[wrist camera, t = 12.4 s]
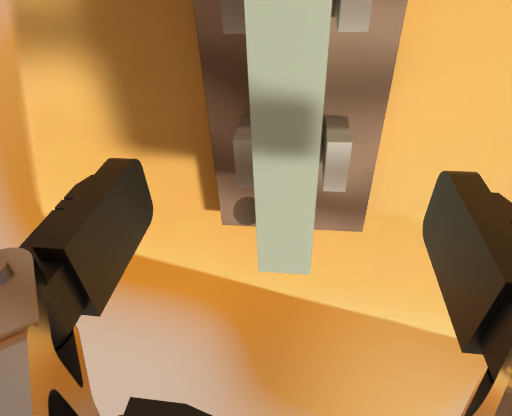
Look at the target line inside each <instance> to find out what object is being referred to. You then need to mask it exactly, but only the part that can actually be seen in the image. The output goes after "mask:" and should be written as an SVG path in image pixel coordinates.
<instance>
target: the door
mask: <svg viewBox="0 0 512 416" xmlns="http://www.w3.org/2000/svg"><path fill="white" fill-rule="evenodd" d="M244 8H245V26H246V45H247V64H248V82H249V101H250V120H251V138H252V157H253V176H254V194H255V199H254V198H252V197H243V198H241V199H239V200H238V201H237V202H236V203H235V205H234V207H233V215H234V218H235V219H236V221H237V222H238V223H240V224H242V225H245V226H250V225H253V224H255V223H256V232H257V250H258V269H259V272H275V273H290V274H305V275H310V269H311V257H312V245H313V232H314V220H315V207H316V195H317V183H318V170H319V158H320V145H321V133H322V121H323V108H324V96H325V84H326V71H327V59H328V46H329V34H330V22H331V9H332V0H244Z"/></svg>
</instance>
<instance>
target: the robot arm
mask: <svg viewBox="0 0 512 416" xmlns="http://www.w3.org/2000/svg"><path fill="white" fill-rule="evenodd" d="M152 216H153V204H152V200H151V196H150V193H149V189H148V185H147V182H146V178H145V175H144V171H143V168H142V165H141V163H140V161H139V160H137V159H123V158H109V159H108V160H107V161H106V162H105V163H104V164H103V165H102V166H101V167H100V169H99V170H98V171H97V172H96V173H95V174H94V175H91V176H89V177H87V178H86V179H84V180H83V181H81V182H79V183H78V184H76V185H75V186H74V187H73V188H72V189H71V190H70V192H69V193H68V194H67V195H66V196H65V197H64V200H61V201H60V203H59V204H58V205H57V206H56V207H55V210H52V211H51V212H50V214H49V215H48V216H47V217H46V218H45V219H44V220H43V221H42V223H40V225H39V226H38V227H37V228H36V229H35V230H34V231H33V232H32V233H31V234H30V236H29V237H28V238H27V239H26V240H25V241H24V242H23V243H22V244H21V246H20V247H19V248H6V249H1V250H0V416H100V415H99V412H98V410H97V408H96V406H95V404H94V401H93V398H92V394H91V390H90V385H89V380H88V375H87V370H86V365H85V360H84V355H83V350H82V345H81V340H80V335H79V330H78V328H77V326H76V325H75V324H76V322H77V321H78V319H79V317H80V316H81V315H90V316H100V315H101V313H102V312H103V310H104V308H105V306H106V304H107V302H108V301H109V298H110V297H111V295H112V293H113V291H114V290H115V288H116V286H117V284H118V282H119V280H120V279H121V277H122V275H123V273H124V271H125V269H126V267H127V265H128V264H129V262H130V260H131V258H132V256H133V255H134V253H135V251H136V249H137V247H138V245H139V244H140V242H141V240H142V238H143V236H144V234H145V233H146V231H147V229H148V227H149V225H150V223H151V220H152ZM423 239H424V242H425V245H426V248H427V251H428V254H429V257H430V260H431V263H432V266H433V269H434V272H435V275H436V278H437V281H438V284H439V286H440V289H441V292H442V295H443V298H444V301H445V304H446V307H447V310H448V313H449V316H450V319H451V322H452V325H453V328H454V330H455V333H456V336H457V339H458V342H459V345H460V348H461V351H462V352H463V353H472V354H482V355H484V358H485V361H486V363H487V367H486V369H485V370H484V371H483V373H482V375H481V377H480V379H479V381H478V383H477V385H476V387H475V389H474V391H473V393H472V395H471V397H470V399H469V401H468V403H467V405H466V407H465V409H464V411H463V413H462V415H461V416H512V203H511V202H510V201H509V200H507V199H506V198H505V197H503V196H502V195H500V194H499V193H491V191H490V190H489V188H488V187H487V185H486V184H485V182H484V181H483V179H482V178H481V176H480V175H479V174H478V173H477V172H462V171H443V172H441V173H440V175H439V177H438V179H437V182H436V185H435V188H434V191H433V194H432V197H431V199H430V202H429V205H428V208H427V211H426V214H425V217H424V221H423ZM119 416H212V415H209V414H207V413H205V412H203V411H201V410H198V409H196V408H194V407H192V406H189V405H187V404H183V403H174V402H166V401H158V400H150V399H142V398H133V397H130V399H129V402H128V405H127V407H126V410H125V412H124V415H119Z"/></svg>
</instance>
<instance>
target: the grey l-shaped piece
mask: <svg viewBox="0 0 512 416" xmlns="http://www.w3.org/2000/svg"><path fill="white" fill-rule="evenodd" d="M407 1H408V0H332V9H331V22H330V34H329V46H328V59H327V71H326V84H325V96H324V108H323V121H322V133H321V145H320V158H319V170H318V183H317V195H316V207H315V220H314V229H316V230H335V231H355V232H362V230H363V225H364V220H365V215H366V210H367V205H368V200H369V195H370V190H371V185H372V179H373V174H374V169H375V164H376V159H377V154H378V149H379V144H380V139H381V134H382V129H383V123H384V118H385V113H386V108H387V103H388V98H389V93H390V88H391V83H392V78H393V73H394V67H395V62H396V57H397V52H398V47H399V42H400V37H401V32H402V27H403V22H404V17H405V11H406V6H407ZM193 5H194V13H195V20H196V28H197V35H198V43H199V51H200V58H201V66H202V74H203V81H204V89H205V96H206V104H207V112H208V119H209V127H210V135H211V142H212V150H213V158H214V165H215V173H216V180H217V188H218V196H219V203H220V211H221V219H222V225H236V226H245V225H242V224H240V223H238V222H237V221H236V219H235V218H234V215H233V207H234V205H235V203H236V202H237V201H238V200H239V199H241V198H243V197H252V198H254V199H255V194H254V176H253V157H252V138H251V120H250V101H249V82H248V64H247V45H246V26H245V8H244V0H193ZM250 226H256V223H255V224H253V225H250Z"/></svg>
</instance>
